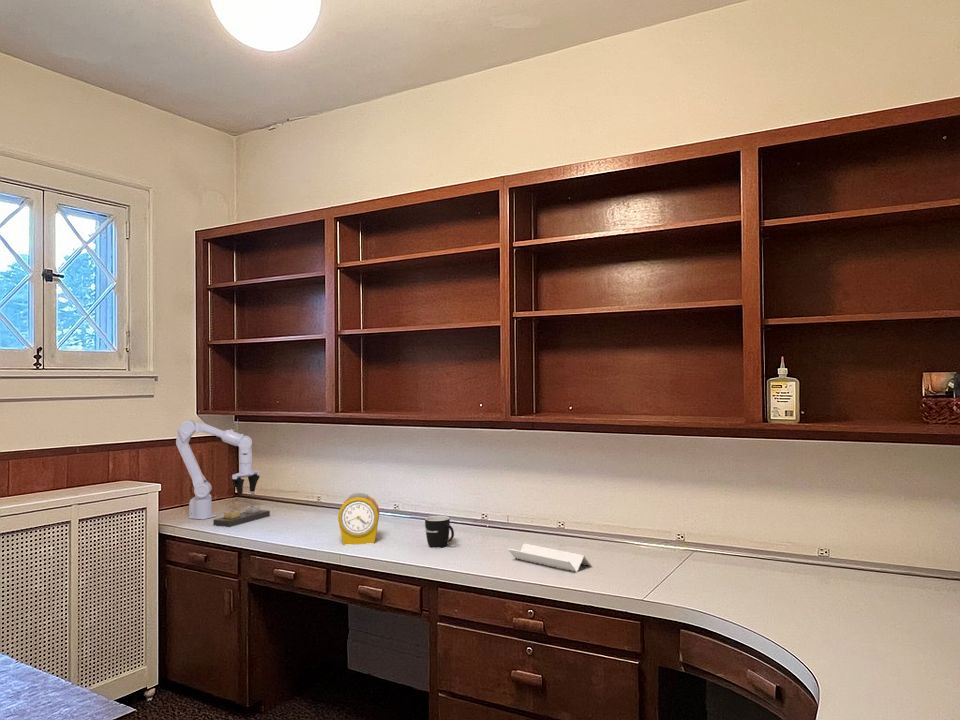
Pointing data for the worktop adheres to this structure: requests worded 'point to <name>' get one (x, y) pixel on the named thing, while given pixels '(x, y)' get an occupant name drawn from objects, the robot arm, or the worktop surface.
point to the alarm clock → (358, 519)
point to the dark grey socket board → (241, 519)
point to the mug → (438, 531)
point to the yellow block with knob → (231, 515)
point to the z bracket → (550, 557)
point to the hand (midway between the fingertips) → (246, 492)
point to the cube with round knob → (252, 509)
